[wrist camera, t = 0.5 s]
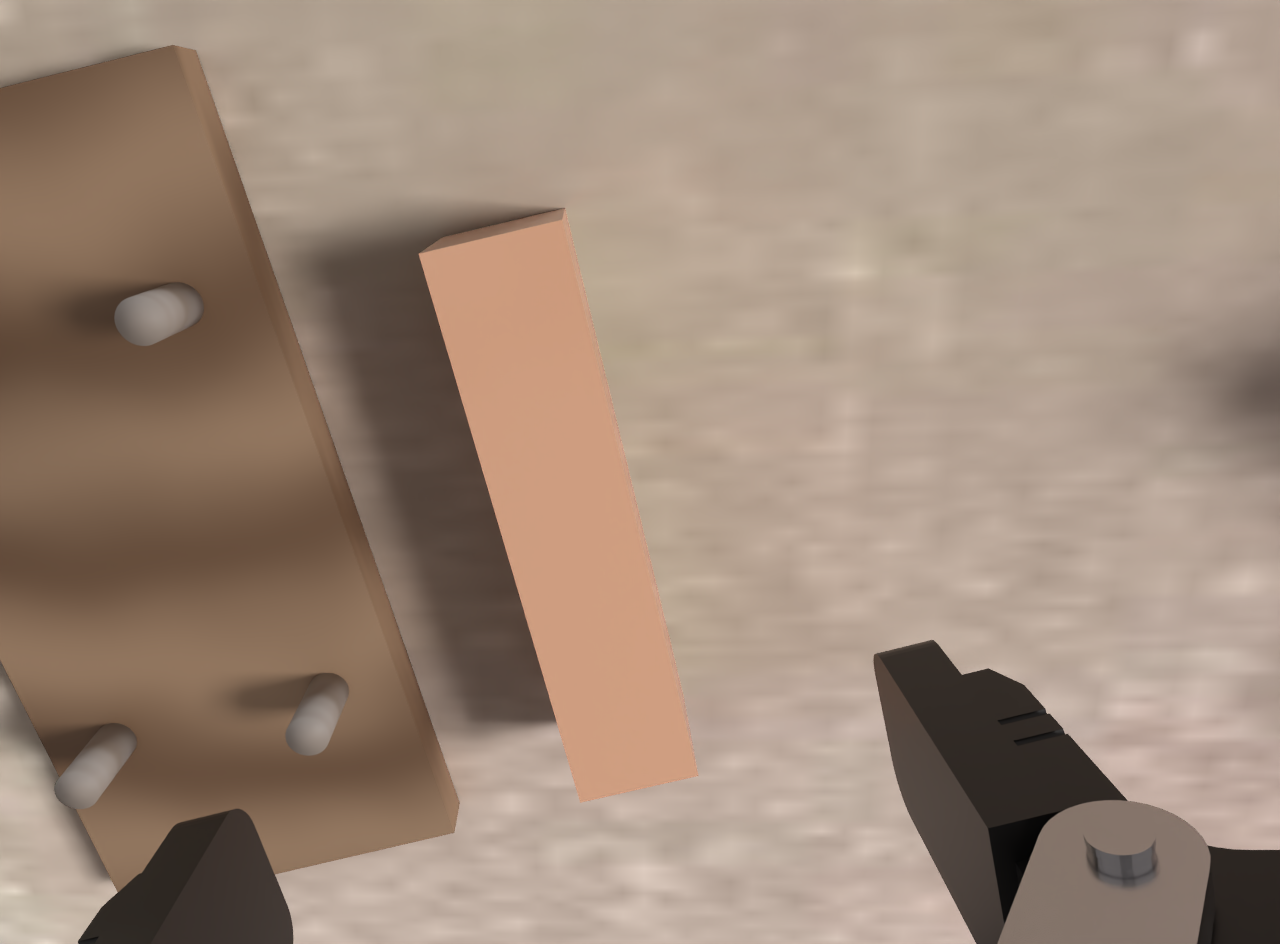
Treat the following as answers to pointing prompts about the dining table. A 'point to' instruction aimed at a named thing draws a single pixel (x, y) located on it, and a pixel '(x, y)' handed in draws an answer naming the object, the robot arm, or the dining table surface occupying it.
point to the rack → (182, 499)
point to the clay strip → (563, 497)
